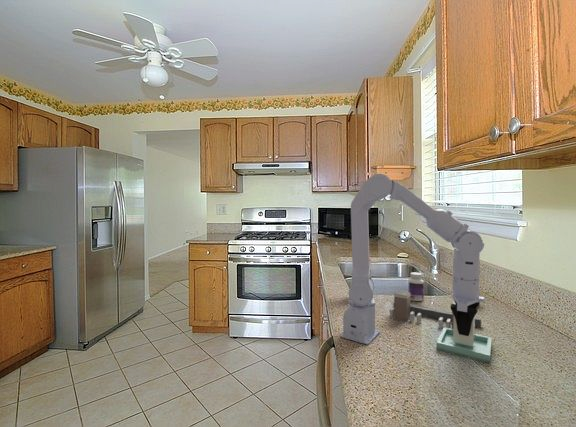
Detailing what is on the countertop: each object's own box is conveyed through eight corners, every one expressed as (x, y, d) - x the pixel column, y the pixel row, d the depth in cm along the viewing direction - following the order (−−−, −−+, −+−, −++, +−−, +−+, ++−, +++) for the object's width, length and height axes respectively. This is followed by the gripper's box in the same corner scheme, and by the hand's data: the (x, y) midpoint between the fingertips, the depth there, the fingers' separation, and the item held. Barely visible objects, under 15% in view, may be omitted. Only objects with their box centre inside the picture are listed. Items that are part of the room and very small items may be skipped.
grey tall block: (473, 346, 73) (473, 314, 72) (453, 342, 75) (453, 310, 75) (474, 340, 76) (475, 309, 76) (455, 335, 79) (455, 305, 78)
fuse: (406, 321, 92) (407, 295, 91) (393, 318, 94) (394, 293, 94) (410, 317, 95) (410, 292, 94) (397, 315, 97) (397, 290, 97)
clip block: (478, 336, 81) (479, 328, 81) (386, 316, 96) (386, 308, 96) (481, 325, 89) (481, 317, 89) (395, 307, 103) (395, 301, 103)
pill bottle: (426, 301, 110) (426, 275, 109) (411, 301, 110) (411, 275, 110) (420, 296, 115) (420, 271, 115) (405, 296, 115) (406, 271, 115)
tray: (489, 363, 68) (489, 355, 68) (436, 349, 74) (436, 342, 74) (491, 344, 77) (491, 337, 77) (443, 333, 83) (444, 327, 83)
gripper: (483, 287, 67) (481, 347, 67) (486, 274, 78) (485, 325, 79) (447, 282, 71) (446, 338, 71) (455, 270, 83) (455, 319, 83)
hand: (464, 331), depth 75 cm, fingers closed on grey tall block, 4 cm apart
